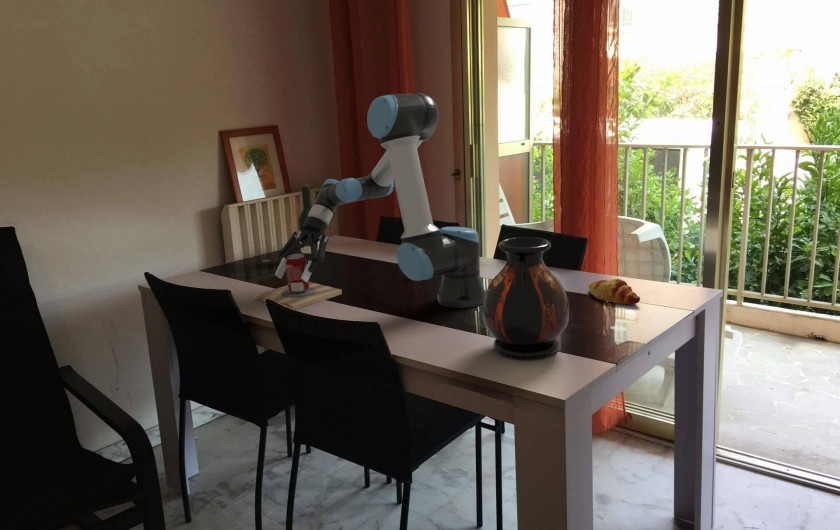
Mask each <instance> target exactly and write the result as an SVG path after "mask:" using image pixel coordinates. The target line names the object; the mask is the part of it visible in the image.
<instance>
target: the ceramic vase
mask: <svg viewBox="0 0 840 530" xmlns="http://www.w3.org/2000/svg"><path fill="white" fill-rule="evenodd" d="M551 247H552V244H551V241H549V240H548V239H545V238H542V237H536V236H535V237H534V236H531V237H529V236H521V237H520V236H519V237H511V238H506V239H504V240H501V241H500V242H499V243H498V244H497V248H498V249H499V250H500V251H501V252H503V253H505V255H506V262H505V263H504V266H503V267H502V269H501V270H500V271H499V272H498V273H497V274H496V275H495V276H494V277H493V279H492V280H491V281H490V282H489V284H488V287H487V289H486V290H485V291H486V294H485V298H484V303H483V304H482V309H481V310H482V311H481V312H482V320H483V323H484V325H485V327H486V329H487V331H488V332H489V334H491V336H492V337H493V338H494V341H493V349H494V351H496V353H498V354H499V355H501V356H503V357H506V358H508V359H513V360H524V361H525V360H526V361H529V360H538V359H544V358H547V357H549V356H552V355H553V354H555V353H556V352H557V351H558V350H559V348H560V342H559V340H558V339H559V337H560V336H561V335H562V333H563V332H564V331H565V329H566V328H567V326H568V323H569V320H570V305H569V300H568V296H567V293H566V289H565V288H564V286H563V284H562V283H561V280H560V279H559V278H558V277H557V276H556V275H555V274H554V273H553V272H552V271H551V270H550V269H549V267H547V266H546V263H544V259H543V255H544V253H545V252H546V251H548V250H549V249H551Z"/></svg>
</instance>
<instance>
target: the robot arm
mask: <svg viewBox="0 0 840 530" xmlns="http://www.w3.org/2000/svg"><path fill="white" fill-rule="evenodd" d="M439 111H440V110H439V108H438V105H437V103H436V102H435V100H434V99H433V98H432V97H431V96H429V95H427V94H425V93H422V92H413V93H397V94H395V93H394V94H391V93H390V94H386V95H381V96H378V97H376V98H375V99H374V100H373V101H372V102H371V104H370V105H369V108H368V110H367V120H366V121H367V123H366V124H367V127H368V128H367V129H368V131H369V133H370V134H371V136H372V137H373V138H376V139H379V142H380V146H381V147H382V148H383V149H385V152H384V154H383V155H382V157H381V158H380V159H379V160H378V162H377V164H376V166H374V167H373V170H372V171H371V172H370V173H369V175H367V176H362V177H357V178H353V177H349V178H344V179H343V178H342V179H341V180H340V181H339V180H336V179H332V178H327V179H326V180H325V181H324V182H323V184H322V186H320V189H319V191H318V194H317V196H316V199H315V201H314V202H313V204H312V208H311V210H310V212H309V214H308V217H307V219H306V221H305V223H304V225H303V231H302V232H301V233H299V232H298V231H293V233H292V235H291V237H290V239H288V240H287V242H286V243H285V244H284V245H283V247H282V248H281V249H280V251H279V252H278V253H277V255H278V256H279V257H280V260H279V263H278V264H277V265H278V266H277V269H276V271H275V274H274V276H276V277H277V278H278V279H282V277H283V276H284V274H285V272H286V260H287V256H289V255H292V254H297V253H298V252H299V251H301V248H304V247H305V246H310V247H311V260H312V261H309V262H308V264H307V266H306V268H305V270H304V272H303V274H302V277H301V279H302V280H304V281H305V282H308V281H309V280H310V277H311V275H312V273H314V271H315V270H316V268H317V266H318V265H319V264H322V265H323V264H324V262H325V257H326V251H327V244H328V242H329V241H330V238H329V237H328V236H327V235H326V234H325V233H326V232H327V230H328V226H329V224H330V222H331V220H332V218H333V216H334V214H335V212H336V210H337V207H340V206H342V205H346V204H349V203H355V202H359V201H364V200H369V199H377V198H384V197H387V196H389V195H390V194H392V193H393V191H394V187H395V192H396V197H397V201H398V206H399V209H400V210H399V211H400V216H401V220H402V224H403V229H404V232H403V233H402V235H401V236H400V240H401V244H400V245H399V246H398V247H397V250H396V251H397V252H396V261H397V265H398V266H399V268H400V270H401V272H402V273H403V274H404V276H406V278H408V279H409V280H412V281H415V282H417V281H418V282H420V281H424V280H430V279H431V278H434V277H438V276H441V281H440V284H439V287H438V292H437V303H438V304H439V305H440V306H442V307H446V308H453V309H466V308H473V307H477V306H481V305H483V303H484V298H485V294H486V291H487V290H485V287H484V283H483V281H482V278H481V273H480V271H481V270H480V269H481V266H480V241H479V239H480V238H479V233H478V231H477V230H476V229H474V228H470V227H465V226H463V227H462V226H445V227H441V228H439V227H438V226H436V225H435V224H434V221H433V217H432V212H431V209H430V203H429V197H428V193H427V189H426V185H425V181H424V175H423V170H422V167H421V161H420V157H419V152H418V148H419V147H420V146H421V144H422V143H423V142H424V141H427V140H429V139H430V138H431V136H432V135H433V133H434V132H435V131H436V129H437V127H438V124H439V120H440V112H439ZM300 241H301V243H302V244H301V243H300ZM319 241H320V242H319ZM318 242H319V248H318ZM317 248H318V249H317Z"/></svg>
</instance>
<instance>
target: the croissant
mask: <svg viewBox="0 0 840 530" xmlns="http://www.w3.org/2000/svg"><path fill="white" fill-rule="evenodd" d="M588 290H589V292H590V294H592V296H593V295H594V296H593V297H595V298H596V297H597V298H596V299H597V300H598V299H602V300H601V301H603V300H605V301H608V302H613V303H612V304H618V303H622V304H621V305H623V304H629V305H628V306H632V305H631V304H633V305H636V304H638V303H639V302H640V301H641V297H640V296H639V295H637V293H636V292H634V291H633V288H632V286H629V285H628V283H627V281H625V280H624V279H622V278H621V279H620V278H612V279H609V280H608V279H601V280H598V281H593V282H591V283H590V284H588ZM605 301H604V302H605ZM608 302H607V303H608Z"/></svg>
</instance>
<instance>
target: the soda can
mask: <svg viewBox="0 0 840 530" xmlns="http://www.w3.org/2000/svg"><path fill="white" fill-rule="evenodd" d="M286 257H287V260H286V270H285V272H286V281H287V285H288V290H289V292H292V293H295V294H298V293H304V292H306V291H307V290H308V289H309V282H310V281H309V280H308V282H305V281H304V280H302V279H301V277H302V274H303V272H304V270H305V268H306V266H307V261H306V259H305V258H304V255H303V254H301V253H295V254H292V255H289V256H286Z"/></svg>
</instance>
